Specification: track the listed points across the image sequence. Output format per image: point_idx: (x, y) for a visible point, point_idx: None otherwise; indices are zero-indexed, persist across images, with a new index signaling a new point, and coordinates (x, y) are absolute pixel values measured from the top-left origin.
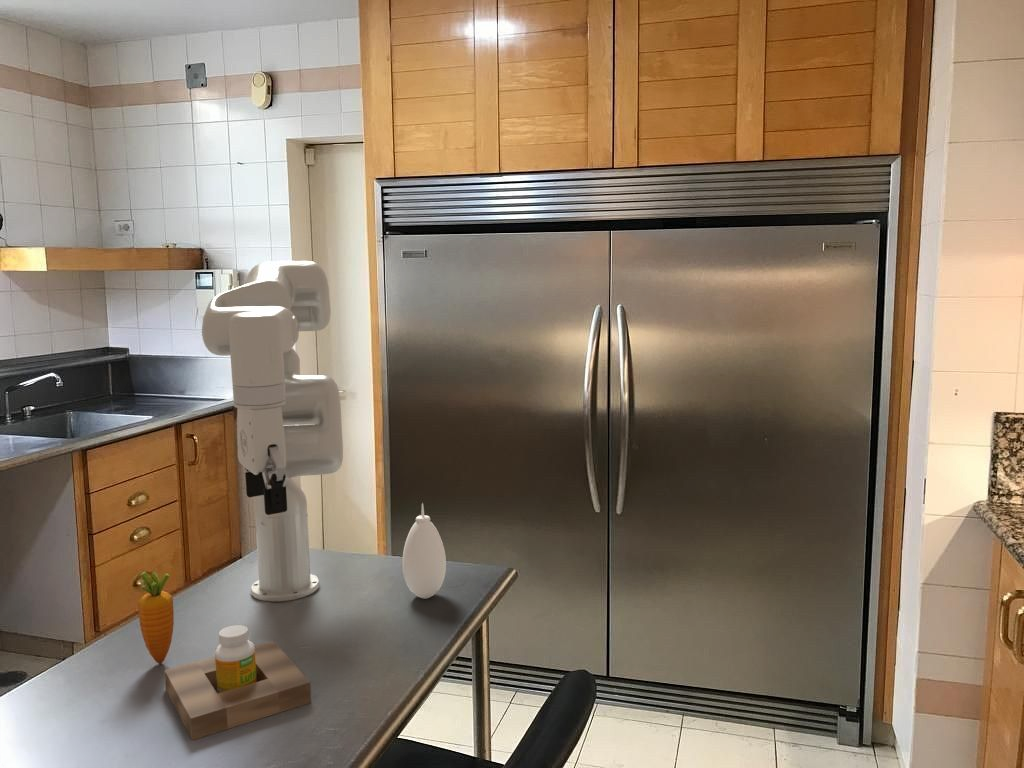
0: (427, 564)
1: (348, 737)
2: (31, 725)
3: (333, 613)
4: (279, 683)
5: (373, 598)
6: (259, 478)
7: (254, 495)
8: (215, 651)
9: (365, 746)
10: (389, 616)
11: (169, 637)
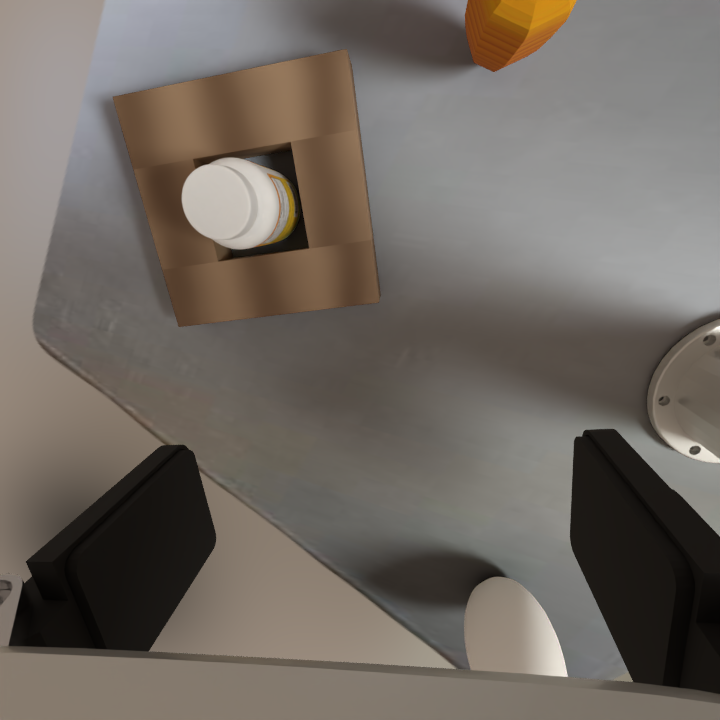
0: (469, 650)
1: (82, 341)
2: None
3: (524, 438)
4: (192, 277)
5: (547, 517)
6: (627, 613)
7: (574, 471)
8: (232, 158)
9: (55, 354)
10: (449, 512)
11: (478, 60)
